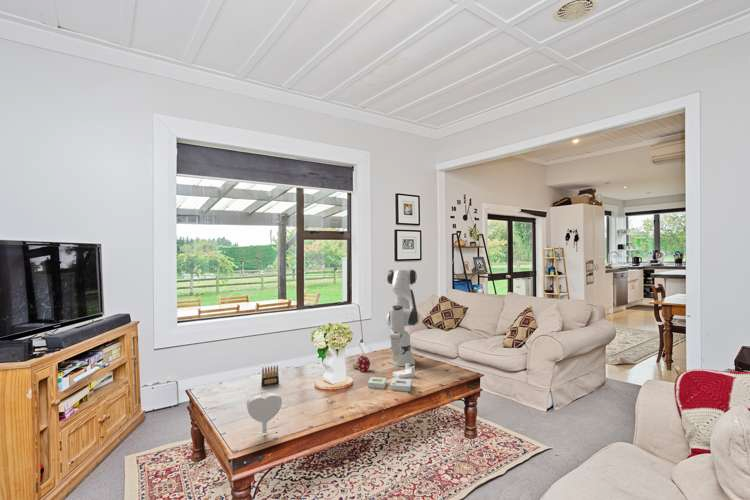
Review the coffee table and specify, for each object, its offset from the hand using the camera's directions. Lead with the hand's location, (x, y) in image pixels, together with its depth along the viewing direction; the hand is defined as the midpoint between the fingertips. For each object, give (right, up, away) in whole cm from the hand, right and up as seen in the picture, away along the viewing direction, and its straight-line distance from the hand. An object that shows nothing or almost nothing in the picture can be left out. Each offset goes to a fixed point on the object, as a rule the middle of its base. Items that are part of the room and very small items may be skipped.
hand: (397, 354), depth 233 cm
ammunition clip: (-80, -21, +5) cm, 83 cm away
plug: (0, -4, 0) cm, 4 cm away
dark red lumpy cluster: (-23, -21, +34) cm, 46 cm away
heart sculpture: (-66, -22, -55) cm, 89 cm away
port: (+3, -21, 0) cm, 21 cm away
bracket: (+6, -21, +20) cm, 29 cm away
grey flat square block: (-12, -21, +3) cm, 24 cm away
